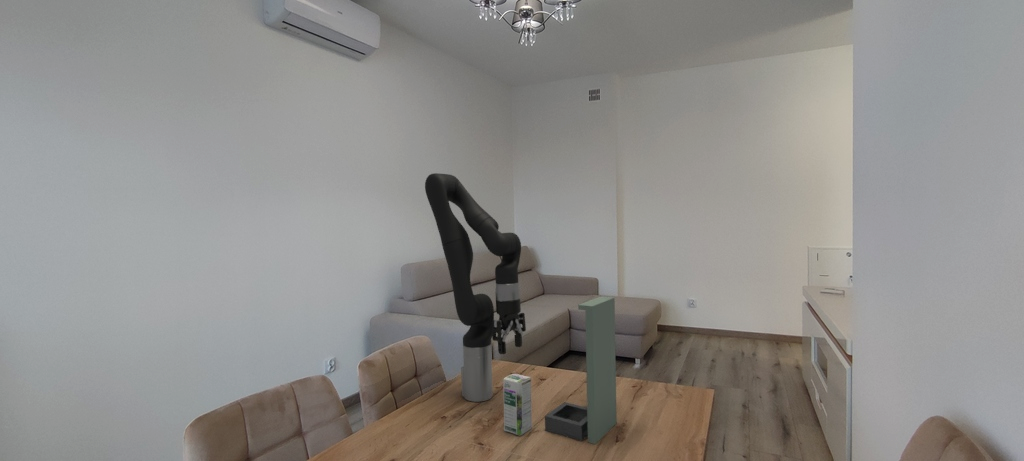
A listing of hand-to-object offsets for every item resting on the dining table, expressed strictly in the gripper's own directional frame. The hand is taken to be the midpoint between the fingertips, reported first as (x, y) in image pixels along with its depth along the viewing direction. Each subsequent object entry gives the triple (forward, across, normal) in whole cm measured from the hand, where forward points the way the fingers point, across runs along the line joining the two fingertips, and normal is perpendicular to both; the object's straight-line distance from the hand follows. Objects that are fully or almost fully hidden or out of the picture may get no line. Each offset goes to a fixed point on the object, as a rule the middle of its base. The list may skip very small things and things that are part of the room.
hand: (510, 350), depth 139 cm
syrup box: (+18, +12, +10) cm, 24 cm away
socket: (+18, +3, +22) cm, 29 cm away
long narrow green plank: (+18, +1, +30) cm, 35 cm away
